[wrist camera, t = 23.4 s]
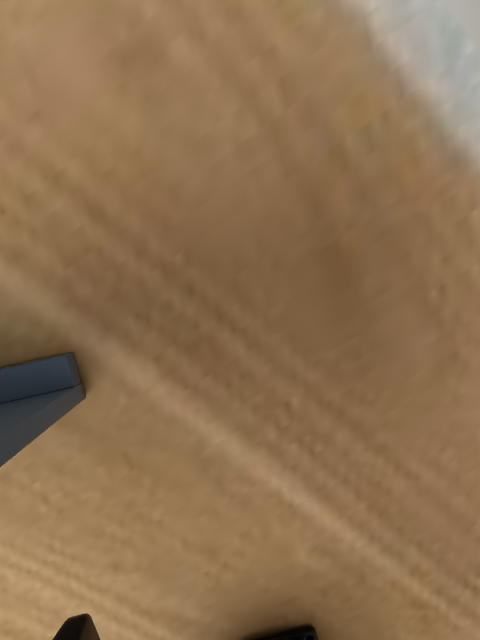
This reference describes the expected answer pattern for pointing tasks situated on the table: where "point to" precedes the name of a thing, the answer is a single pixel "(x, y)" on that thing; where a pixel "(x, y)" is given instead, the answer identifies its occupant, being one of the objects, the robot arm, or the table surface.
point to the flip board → (35, 399)
